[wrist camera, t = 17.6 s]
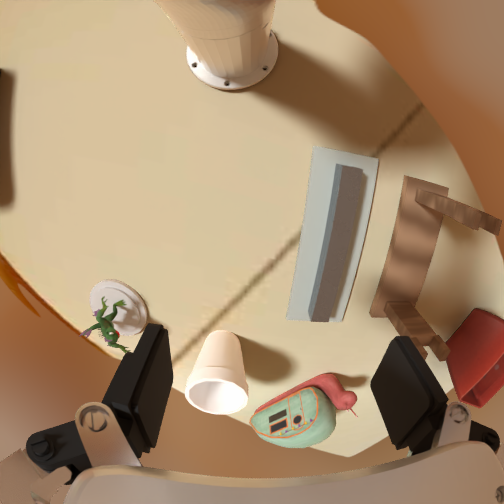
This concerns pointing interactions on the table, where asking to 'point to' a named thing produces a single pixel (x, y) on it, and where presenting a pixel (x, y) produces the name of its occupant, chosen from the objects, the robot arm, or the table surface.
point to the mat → (316, 225)
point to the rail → (335, 241)
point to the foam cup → (218, 376)
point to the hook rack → (419, 258)
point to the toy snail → (303, 413)
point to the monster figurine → (116, 311)
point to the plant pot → (477, 358)
